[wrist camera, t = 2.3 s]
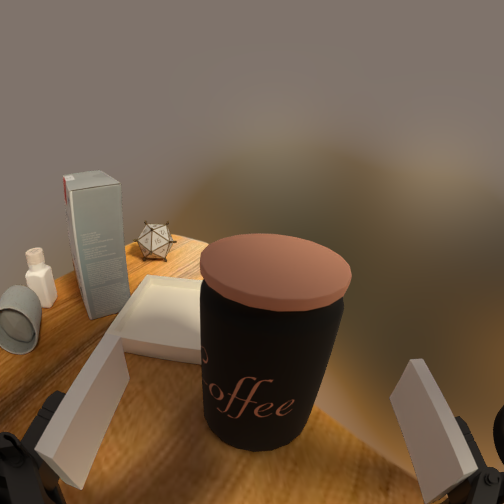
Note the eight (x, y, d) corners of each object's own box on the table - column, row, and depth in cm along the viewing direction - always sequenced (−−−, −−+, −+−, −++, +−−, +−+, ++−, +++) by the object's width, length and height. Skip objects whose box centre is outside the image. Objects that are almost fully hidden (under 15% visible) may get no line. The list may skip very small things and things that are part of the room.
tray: (244, 297, 50) (245, 284, 49) (236, 368, 34) (237, 353, 33) (148, 287, 50) (147, 274, 49) (108, 348, 34) (104, 333, 33)
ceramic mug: (48, 318, 37) (35, 275, 34) (45, 352, 30) (27, 304, 27) (-5, 326, 32) (-20, 284, 29) (-14, 359, 25) (-35, 314, 22)
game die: (148, 273, 62) (127, 233, 61) (181, 254, 65) (160, 216, 65) (149, 271, 54) (126, 225, 53) (187, 249, 57) (163, 205, 56)
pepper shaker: (59, 297, 43) (48, 246, 39) (51, 309, 39) (38, 256, 35) (41, 296, 42) (30, 246, 38) (32, 308, 38) (19, 256, 35)
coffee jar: (182, 415, 26) (167, 255, 20) (247, 367, 34) (261, 224, 27) (265, 475, 21) (306, 323, 14) (323, 408, 28) (371, 260, 22)
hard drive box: (75, 278, 49) (62, 174, 42) (110, 270, 54) (102, 169, 46) (89, 322, 38) (68, 188, 31) (134, 309, 43) (123, 180, 35)
